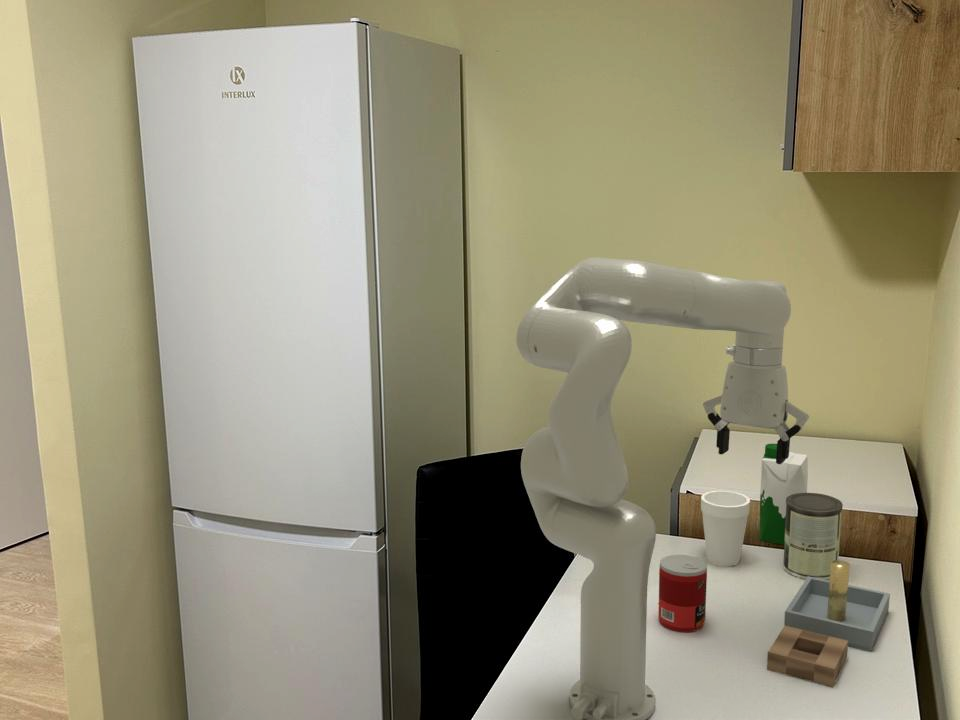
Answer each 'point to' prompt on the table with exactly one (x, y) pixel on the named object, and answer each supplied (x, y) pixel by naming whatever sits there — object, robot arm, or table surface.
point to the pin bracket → (808, 655)
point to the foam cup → (724, 525)
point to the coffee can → (811, 534)
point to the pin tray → (861, 613)
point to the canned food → (682, 592)
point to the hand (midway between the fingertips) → (751, 457)
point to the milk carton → (779, 491)
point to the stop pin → (838, 590)
